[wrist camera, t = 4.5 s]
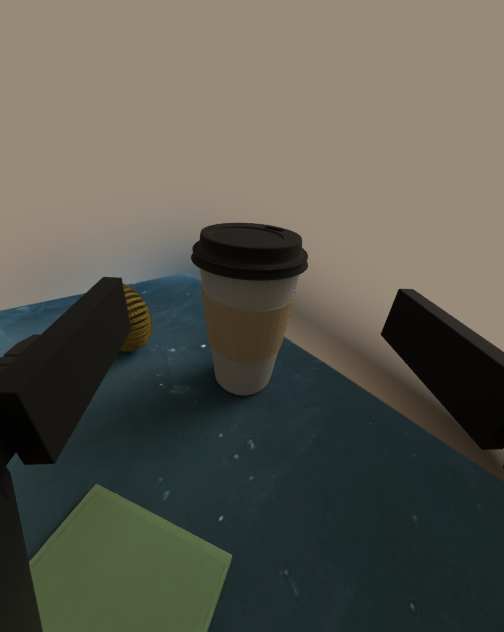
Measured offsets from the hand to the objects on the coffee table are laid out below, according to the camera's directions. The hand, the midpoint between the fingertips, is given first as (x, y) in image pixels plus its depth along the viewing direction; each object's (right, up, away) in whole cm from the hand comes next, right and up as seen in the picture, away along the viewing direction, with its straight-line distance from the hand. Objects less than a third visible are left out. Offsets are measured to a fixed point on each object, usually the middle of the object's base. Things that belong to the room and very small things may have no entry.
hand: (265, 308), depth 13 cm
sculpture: (-15, -4, +18) cm, 24 cm away
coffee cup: (-2, -7, +15) cm, 17 cm away
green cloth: (-8, -15, +1) cm, 16 cm away
